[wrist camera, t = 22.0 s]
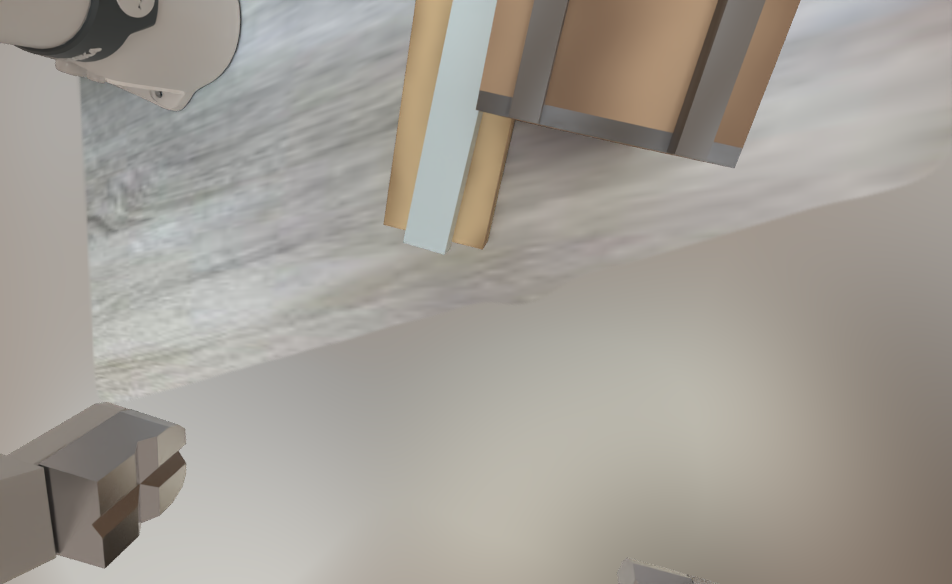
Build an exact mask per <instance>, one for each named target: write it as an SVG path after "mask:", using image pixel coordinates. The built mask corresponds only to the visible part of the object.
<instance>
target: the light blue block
mask: <svg viewBox="0 0 952 584" xmlns="http://www.w3.org/2000/svg"><path fill="white" fill-rule="evenodd" d="M496 3H497V0H453V3H452V7H451V12H450V17H449V22H448V27H447V32H446V37H445V41H444V46H443V51H442V56H441V61H440V66H439V71H438V76H437V80H436V85H435V90H434V95H433V100H432V105H431V110H430V114H429V119H428V124H427V129H426V134H425V139H424V144H423V149H422V153H421V158H420V163H419V168H418V173H417V178H416V183H415V187H414V192H413V197H412V202H411V207H410V212H409V217H408V222H407V226H406V231H405V236H404V241H403V243H406V244H409V245H413V246H416V247H419V248H423V249H426V250H429V251H433V252H436V253H440V254H443V255H445V254H446V252H447V251H448V250H449V249H450V247H451V242H452V238H453V234H454V230H455V226H456V222H457V218H458V214H459V210H460V205H461V201H462V197H463V193H464V189H465V185H466V181H467V177H468V173H469V168H470V164H471V160H472V156H473V152H474V148H475V144H476V140H477V136H478V131H479V127H480V123H481V119H482V115H483V112H482V111H478V110H476V105H477V100H478V95H479V90H480V85H481V80H482V75H483V70H484V64H485V59H486V54H487V49H488V44H489V39H490V34H491V29H492V24H493V19H494V14H495V8H496Z"/></svg>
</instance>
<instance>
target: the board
mask: <svg viewBox="0 0 952 584" xmlns="http://www.w3.org/2000/svg"><path fill="white" fill-rule="evenodd" d="M452 3H453V0H416V3H415V10H414V17H413V24H412V31H411V38H410V45H409V52H408V59H407V65H406V72H405V79H404V86H403V93H402V100H401V107H400V114H399V121H398V128H397V135H396V142H395V149H394V156H393V163H392V170H391V177H390V183H389V190H388V197H387V204H386V211H385V218H384V225H387V226H391V227H395V228H399V229H403V230H406V226H407V222H408V217H409V212H410V207H411V202H412V197H413V192H414V187H415V183H416V178H417V173H418V168H419V163H420V158H421V153H422V149H423V144H424V139H425V134H426V129H427V124H428V119H429V114H430V110H431V105H432V100H433V95H434V90H435V85H436V80H437V76H438V71H439V66H440V61H441V56H442V51H443V46H444V41H445V37H446V32H447V27H448V22H449V17H450V12H451V7H452ZM514 122H515V120H514V119H510V118H506V117H502V116H498V115H494V114H490V113H486V112H483V115H482V119H481V123H480V127H479V131H478V136H477V140H476V144H475V148H474V152H473V156H472V160H471V164H470V168H469V173H468V177H467V181H466V185H465V189H464V193H463V197H462V201H461V205H460V210H459V214H458V218H457V222H456V226H455V230H454V234H453V238H452V242H455V243H459V244H463V245H467V246H471V247H475V248H479V249H483V248H484V246H485V245H486V243H487V242H488V238H489V233H490V229H491V224H492V220H493V215H494V211H495V207H496V202H497V198H498V193H499V189H500V184H501V180H502V175H503V171H504V167H505V162H506V158H507V153H508V149H509V144H510V140H511V136H512V131H513V127H514Z"/></svg>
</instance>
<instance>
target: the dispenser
mask: <svg viewBox="0 0 952 584" xmlns="http://www.w3.org/2000/svg"><path fill="white" fill-rule="evenodd" d="M799 3H800V0H497V3H496V8H495V14H494V19H493V24H492V29H491V34H490V39H489V44H488V49H487V54H486V59H485V64H484V70H483V75H482V80H481V85H480V90H479V95H478V100H477V105H476V110H478V111H482V112H486V113H490V114H494V115H498V116H502V117H506V118H510V119H514V120H518V121H522V122H527V123H531V124H535V125H540V126H544V127H549V128H553V129H558V130H562V131H567V132H571V133H575V134H580V135H584V136H589V137H593V138H598V139H602V140H607V141H611V142H615V143H620V144H624V145H629V146H633V147H638V148H642V149H647V150H652V151H656V152H661V153H666V154H670V155H675V156H680V157H684V158H689V159H694V160H698V161H703V162H708V163H712V164H717V165H722V166H726V167H731V168H735V166H736V163H737V161H738V158H739V156H740V153H741V151H742V148H743V146H744V143H745V141H746V138H747V135H748V133H749V130H750V128H751V125H752V123H753V120H754V118H755V115H756V112H757V110H758V107H759V105H760V102H761V100H762V97H763V95H764V92H765V90H766V87H767V84H768V82H769V79H770V77H771V74H772V72H773V69H774V67H775V64H776V62H777V59H778V56H779V54H780V51H781V49H782V46H783V44H784V41H785V39H786V36H787V33H788V31H789V28H790V26H791V23H792V21H793V18H794V16H795V13H796V11H797V8H798V5H799Z"/></svg>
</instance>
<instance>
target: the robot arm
mask: <svg viewBox="0 0 952 584" xmlns="http://www.w3.org/2000/svg"><path fill="white" fill-rule="evenodd" d="M239 31H240V10H239V3H238V0H0V43H4V44H11V45H14V46H16V47H18V48H20V49H22V50H24V51H27V52H30V53H34V54H38V55H41V56H45V57H49V58H51V59H56V65H55V66H56V68H57V70H59V71H61V72H64V73H67V74H70V75H75V76H80V77H86V75H87V78H88V79H90V80H92V81H95V82H100V83H105V82H106V81H107V82H108V83H111V84H113V85H115V86H117V87H119V88H122V89H124V90H126V91H128V92H130V93H132V94H135V95H137V96H139V97H141V98H143V99H145V100H148V101H150V102H152V103H154V104H156V105H158V106H160V107H163V108H165V109H168V110H172V111H180V110H182V109H183V108H184V107H185V106H186V104H187V103H188V102H189V100H190V99H191V97H192V95H193V94H194V92H196V91H197V90H198V89H200V88H201V87H203V86H205V85H207V84H209V83H211V82H212V81H214V80H215V79H216V78H217V77H219V76H220V75H221V74H222V72H223V71H224V70H225V69H226V67H227V66H228V64H229V63H230V61H231V59H232V57H233V55H234V52H235V50H236V46H237V43H238V38H239ZM160 91H162V96H161V94H160ZM185 444H186V436H185V428H183V427H181V426H180V425H178V424H175V423H172V422H169V421H166V420H163V419H160V418H157V417H153V416H150V415H147V414H144V413H141V412H138V411H135V410H132V409H126V408H124V407H121V406H118V405H115V404H112V403H109V402H103V403H96V404H94V405H92V406H90V407H89V408H87V409H85V410H84V411H82V412H80V413H79V414H77V415H75V416H73V417H72V418H70V419H68V420H66V421H65V422H63V423H61V424H60V425H58V426H56V427H55V428H53V429H51V430H49V431H48V432H46V433H44V434H43V435H41V436H39V437H38V438H36V439H34V440H32V441H31V442H29V443H27V444H26V445H24V446H22V447H20V448H19V449H17V450H15V451H14V452H12V453H10V454H9V455H7V456H6V455H3V454H0V584H3V583H5V582H7V581H9V580H11V579H13V578H16V577H17V576H19V575H22V574H24V573H26V572H28V571H30V570H32V569H34V568H36V567H38V566H40V565H42V564H44V563H46V562H48V561H50V560H52V559H54V558H56V555H60V556H63V557H67V558H70V559H74V560H78V561H81V562H84V563H88V564H91V565H95V566H98V567H101V568H106V567H107V566H108V565H109V564H110V563H111V562H112V561H113V560H114V559H115V558H116V557H117V556H119V555H120V554H121V552H123V551H124V550H125V549H126V548H127V547H128V546H129V545H130V544H131V543H132V542H133V541H134V540H135V539H136V538H137V537H138V536H139V533H140V528H141V523H143V522H145V521H148V520H150V519H152V518H155V517H157V516H160V515H161V514H162V513H163V512H164V511H165V510H166V509H167V508H168V507H169V506H170V505H171V504H172V503H173V501H174V499H175V498H176V496H177V495H178V493H179V491H180V490H181V488H182V486H183V483H184V479H185V476H186V462H185V461H184V459H183V457H182V456H181V454H180V453H179V450H180V449H181V448H182V447H183V446H184V445H185ZM617 574H618V582H619V584H718V583H716V582H712V581H709V580H706V579H701V578H698V577H695V576H691V575H685V574H684V573H681V572H677V571H674V570H670V569H666V568H663V567H660V566H656V565H652V564H649V563H646V562H642V561H639V560H635V559H631V558H628V557H627V558H626V559H625V560H624V561H623V562H622V564H621V566H620V568H619V570H618V572H617Z"/></svg>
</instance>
